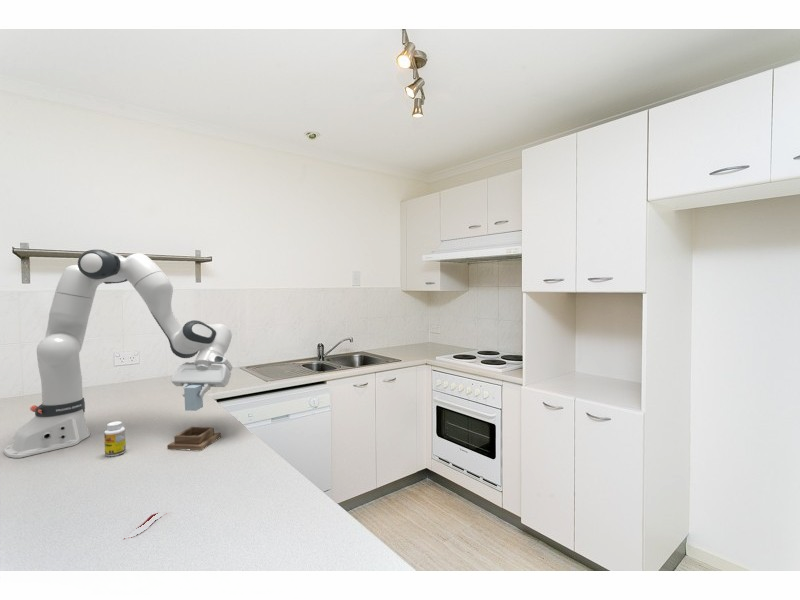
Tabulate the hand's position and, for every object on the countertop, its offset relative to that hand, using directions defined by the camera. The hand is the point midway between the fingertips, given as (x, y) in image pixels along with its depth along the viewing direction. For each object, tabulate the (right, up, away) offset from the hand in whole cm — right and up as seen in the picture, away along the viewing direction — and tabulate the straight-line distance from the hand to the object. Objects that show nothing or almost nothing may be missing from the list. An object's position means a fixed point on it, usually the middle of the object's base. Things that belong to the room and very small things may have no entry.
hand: (192, 396), depth 137 cm
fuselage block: (0, -5, +1) cm, 5 cm away
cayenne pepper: (+14, -19, -45) cm, 51 cm away
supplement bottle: (-22, -17, -7) cm, 29 cm away
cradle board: (0, -17, +1) cm, 17 cm away
